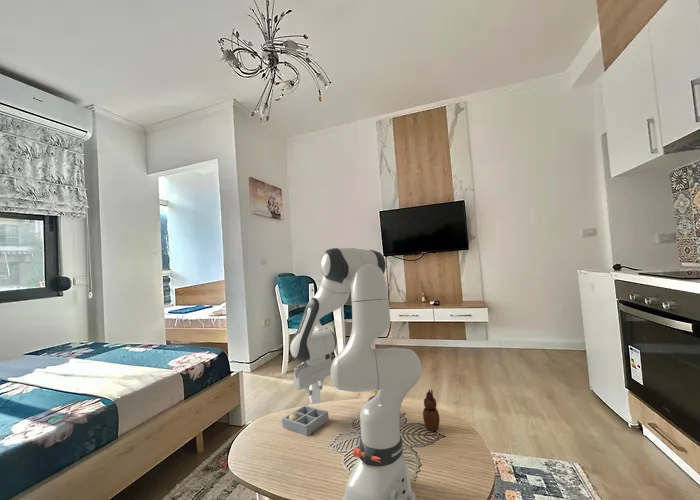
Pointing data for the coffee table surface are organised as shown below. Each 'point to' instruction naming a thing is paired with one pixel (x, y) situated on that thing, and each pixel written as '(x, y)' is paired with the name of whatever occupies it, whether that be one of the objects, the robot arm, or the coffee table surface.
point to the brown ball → (294, 416)
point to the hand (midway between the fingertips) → (314, 392)
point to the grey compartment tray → (306, 420)
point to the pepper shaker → (315, 393)
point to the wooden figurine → (430, 412)
